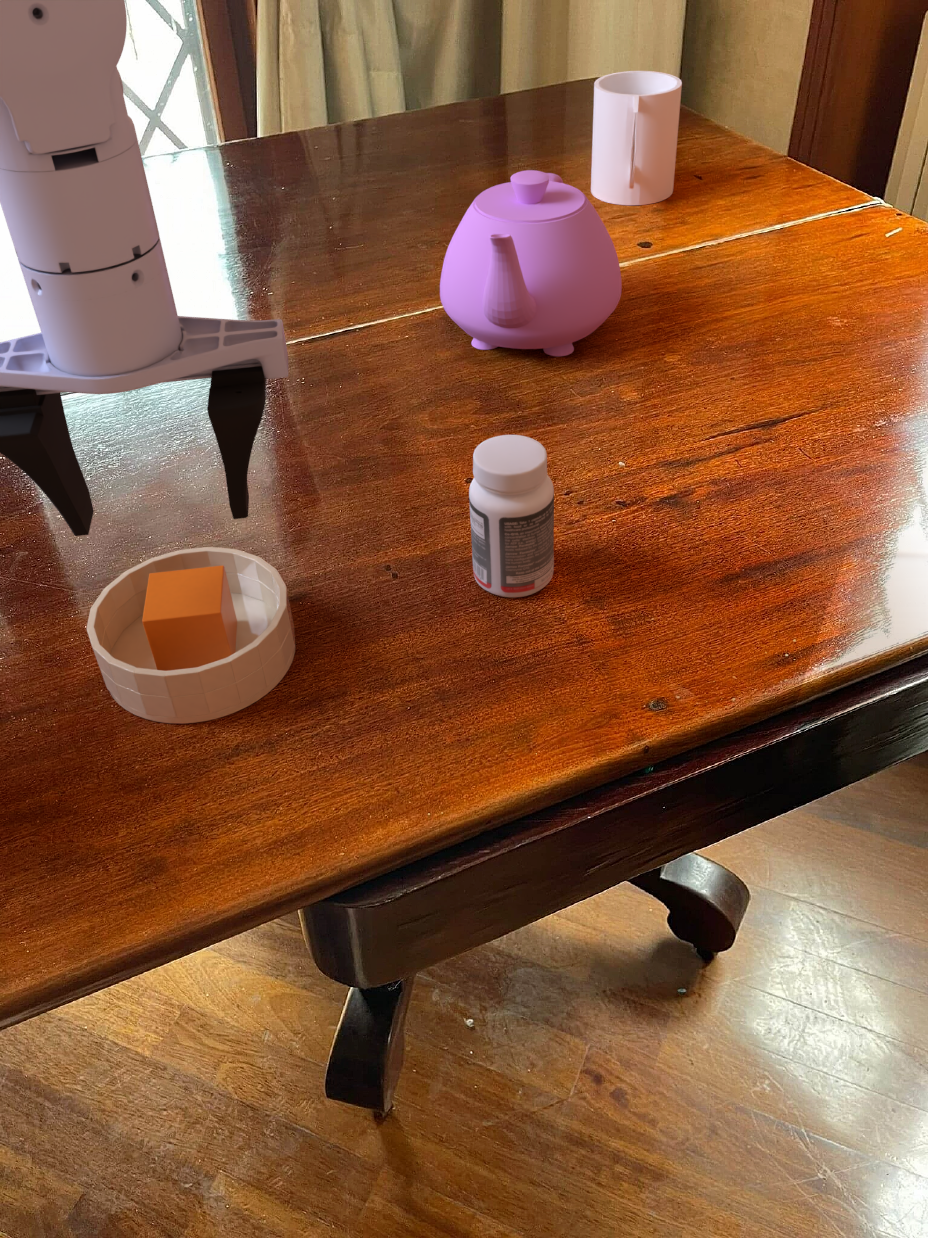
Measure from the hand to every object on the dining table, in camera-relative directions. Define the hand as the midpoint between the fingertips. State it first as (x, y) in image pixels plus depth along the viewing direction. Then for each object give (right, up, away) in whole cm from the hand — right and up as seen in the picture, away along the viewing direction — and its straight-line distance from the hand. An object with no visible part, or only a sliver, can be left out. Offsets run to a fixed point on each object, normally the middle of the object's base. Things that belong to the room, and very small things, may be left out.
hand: (163, 515), depth 54 cm
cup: (+31, +37, +55) cm, 73 cm away
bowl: (0, -7, +6) cm, 9 cm away
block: (0, -7, +6) cm, 9 cm away
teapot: (+20, +18, +33) cm, 43 cm away
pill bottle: (+18, -3, +11) cm, 21 cm away
